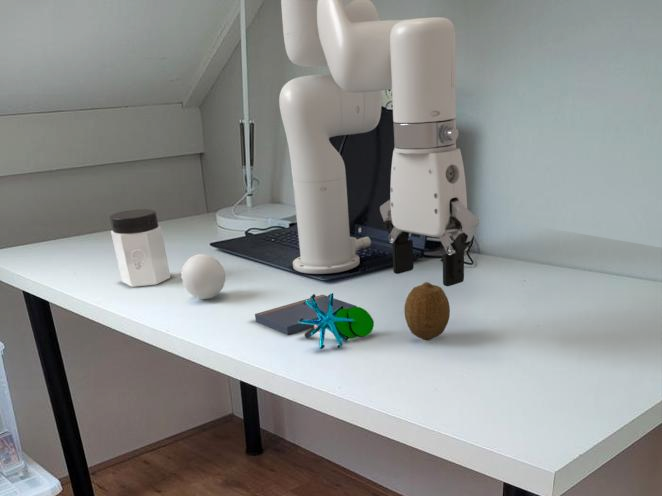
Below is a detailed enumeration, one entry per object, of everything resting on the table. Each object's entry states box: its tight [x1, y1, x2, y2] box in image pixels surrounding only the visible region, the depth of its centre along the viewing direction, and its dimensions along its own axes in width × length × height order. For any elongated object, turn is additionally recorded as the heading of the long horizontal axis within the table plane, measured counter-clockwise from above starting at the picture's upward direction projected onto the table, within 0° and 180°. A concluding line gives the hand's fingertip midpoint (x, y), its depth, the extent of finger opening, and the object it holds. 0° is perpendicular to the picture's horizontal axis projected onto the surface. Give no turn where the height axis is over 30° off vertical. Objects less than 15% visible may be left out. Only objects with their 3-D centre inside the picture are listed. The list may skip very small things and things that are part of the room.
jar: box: [109, 208, 171, 288], centre depth 137 cm, size 9×8×12 cm
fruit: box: [404, 281, 451, 341], centre depth 103 cm, size 6×6×8 cm
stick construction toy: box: [298, 292, 375, 351], centre depth 106 cm, size 12×7×8 cm
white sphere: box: [171, 253, 226, 300], centre depth 127 cm, size 10×7×7 cm
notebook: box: [254, 294, 358, 335], centre depth 116 cm, size 13×9×1 cm
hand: (427, 277), depth 100 cm, fingers open, 9 cm apart
